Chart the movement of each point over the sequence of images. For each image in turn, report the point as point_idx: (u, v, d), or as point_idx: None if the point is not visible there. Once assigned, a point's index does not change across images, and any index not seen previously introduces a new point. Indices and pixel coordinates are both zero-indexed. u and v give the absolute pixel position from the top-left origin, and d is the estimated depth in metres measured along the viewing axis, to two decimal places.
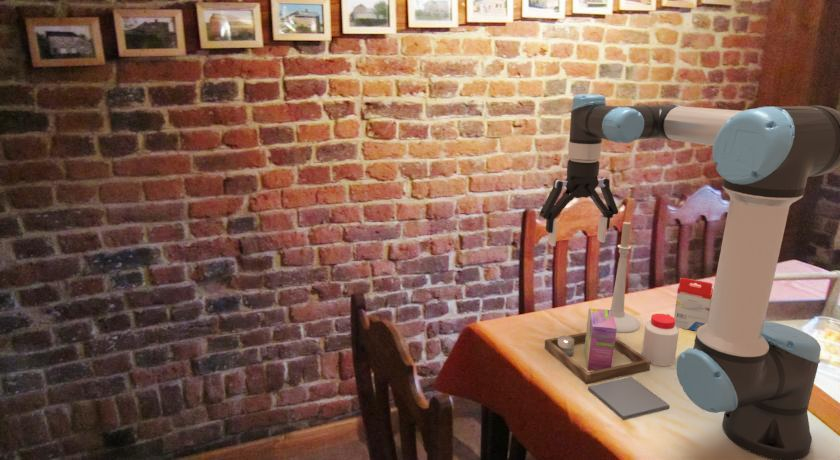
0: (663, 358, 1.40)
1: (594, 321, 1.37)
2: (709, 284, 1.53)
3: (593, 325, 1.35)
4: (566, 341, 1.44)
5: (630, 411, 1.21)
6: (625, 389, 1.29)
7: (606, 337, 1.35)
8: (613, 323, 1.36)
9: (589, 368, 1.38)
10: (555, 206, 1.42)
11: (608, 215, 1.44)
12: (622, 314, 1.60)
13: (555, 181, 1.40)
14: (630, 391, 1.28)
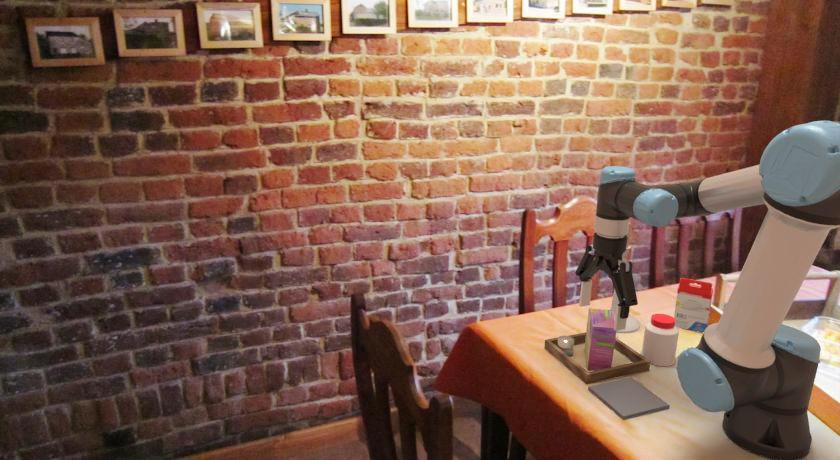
0: (663, 358, 1.40)
1: (594, 321, 1.37)
2: (709, 284, 1.53)
3: (593, 325, 1.35)
4: (566, 341, 1.44)
5: (630, 411, 1.21)
6: (625, 389, 1.29)
7: (606, 337, 1.35)
8: (613, 323, 1.36)
9: (589, 368, 1.38)
10: None
11: (620, 303, 1.30)
12: None
13: None
14: (630, 391, 1.28)
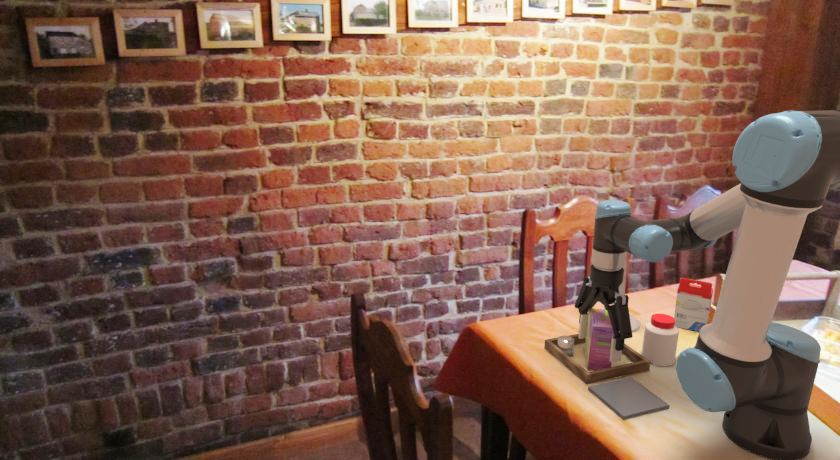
0: (663, 358, 1.40)
1: (594, 321, 1.37)
2: (709, 284, 1.53)
3: (593, 325, 1.35)
4: (566, 341, 1.44)
5: (630, 411, 1.21)
6: (625, 389, 1.29)
7: (606, 337, 1.35)
8: None
9: (589, 368, 1.38)
10: None
11: (615, 335, 1.33)
12: None
13: None
14: (630, 391, 1.28)
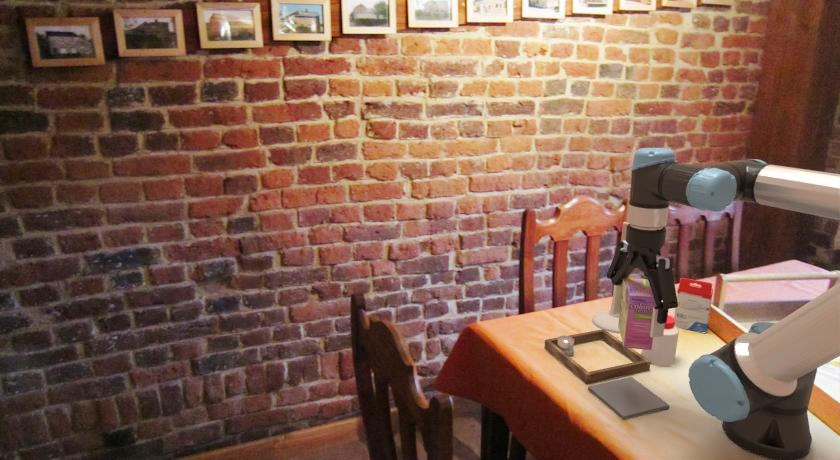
0: (663, 358, 1.40)
1: (631, 290, 1.18)
2: (709, 284, 1.53)
3: (630, 294, 1.16)
4: (566, 341, 1.44)
5: (630, 411, 1.21)
6: (625, 389, 1.29)
7: (646, 308, 1.16)
8: None
9: (626, 345, 1.19)
10: None
11: (657, 305, 1.14)
12: None
13: None
14: (630, 391, 1.28)
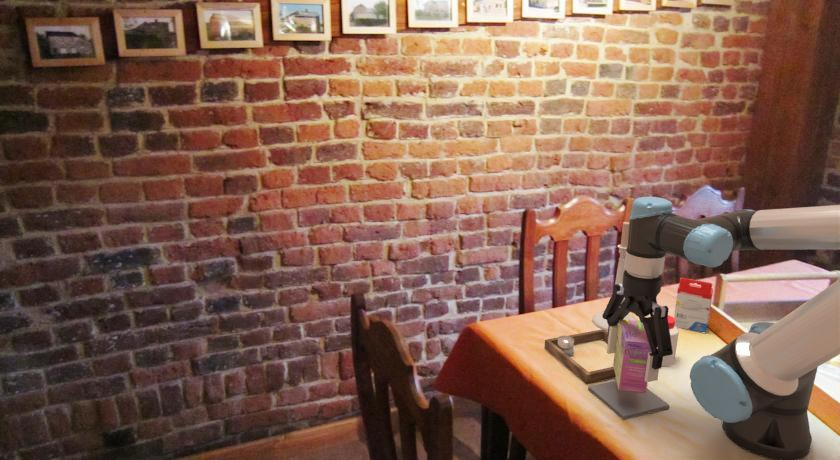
0: (663, 358, 1.40)
1: (627, 335, 1.20)
2: (709, 284, 1.53)
3: (626, 339, 1.18)
4: (566, 341, 1.44)
5: (630, 411, 1.21)
6: None
7: (641, 353, 1.18)
8: None
9: (621, 388, 1.21)
10: None
11: (652, 352, 1.16)
12: None
13: None
14: None
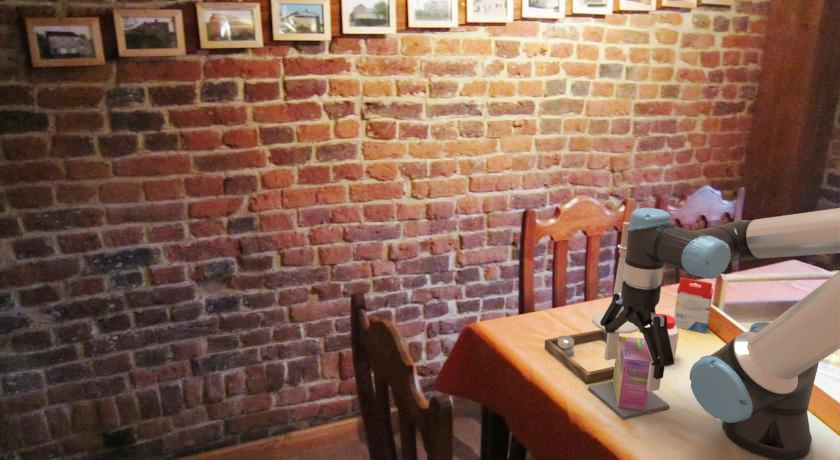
0: None
1: (626, 352, 1.21)
2: (709, 284, 1.53)
3: (625, 357, 1.19)
4: (566, 341, 1.44)
5: (630, 411, 1.21)
6: None
7: (640, 371, 1.19)
8: (647, 355, 1.20)
9: (620, 405, 1.22)
10: None
11: (654, 362, 1.16)
12: None
13: None
14: None
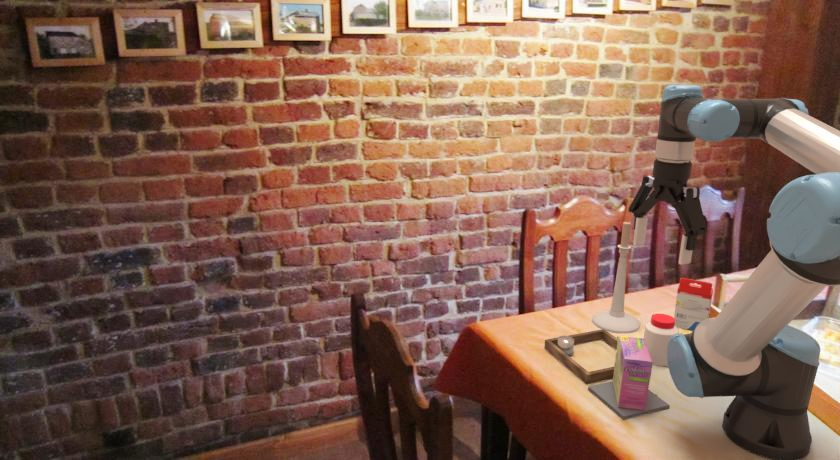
0: (663, 358, 1.40)
1: (626, 352, 1.21)
2: (709, 284, 1.53)
3: (625, 357, 1.19)
4: (566, 341, 1.44)
5: (630, 411, 1.21)
6: None
7: (640, 371, 1.19)
8: (647, 355, 1.20)
9: (620, 405, 1.22)
10: None
11: (687, 233, 1.20)
12: (622, 314, 1.60)
13: None
14: None
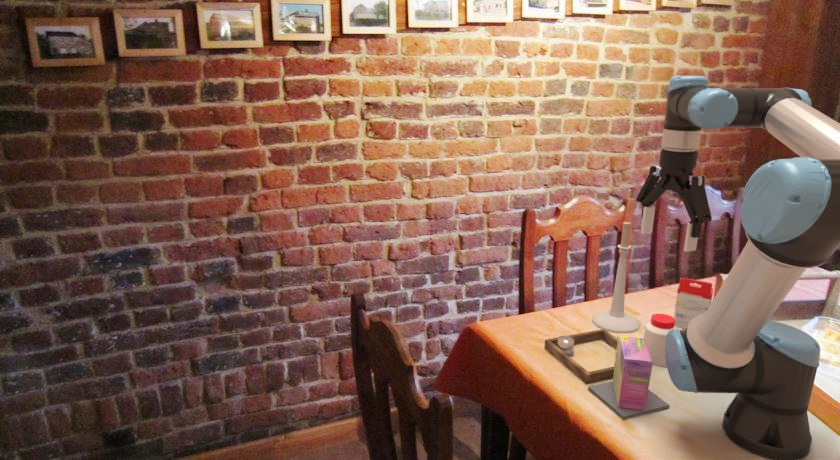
0: (663, 358, 1.40)
1: (626, 352, 1.21)
2: (709, 284, 1.53)
3: (625, 357, 1.19)
4: (566, 341, 1.44)
5: (630, 411, 1.21)
6: None
7: (640, 371, 1.19)
8: (647, 355, 1.20)
9: (620, 405, 1.22)
10: None
11: None
12: (622, 314, 1.60)
13: None
14: None
